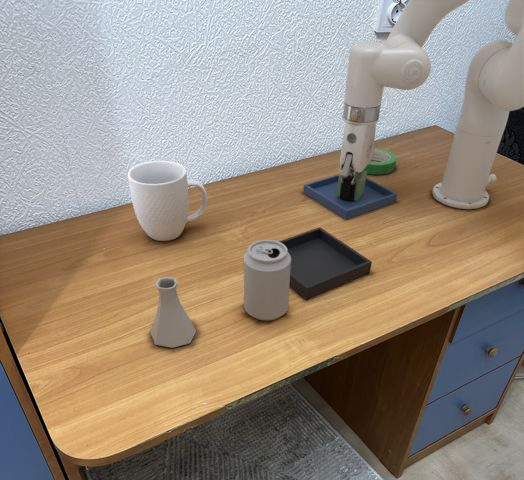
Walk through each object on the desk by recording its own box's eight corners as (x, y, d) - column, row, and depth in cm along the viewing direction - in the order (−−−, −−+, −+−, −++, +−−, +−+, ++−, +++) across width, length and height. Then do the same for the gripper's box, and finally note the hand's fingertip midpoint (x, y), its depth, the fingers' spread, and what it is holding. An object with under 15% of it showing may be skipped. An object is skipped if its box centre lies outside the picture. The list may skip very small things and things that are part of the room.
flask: (152, 320, 84) (143, 269, 77) (196, 318, 85) (191, 268, 78) (149, 350, 79) (139, 298, 72) (196, 348, 79) (190, 296, 73)
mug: (202, 214, 111) (197, 154, 102) (216, 239, 103) (213, 177, 95) (133, 224, 107) (123, 164, 98) (143, 251, 100) (132, 188, 91)
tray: (351, 177, 126) (352, 169, 124) (395, 202, 117) (397, 193, 115) (303, 192, 119) (303, 184, 118) (345, 219, 110) (347, 211, 109)
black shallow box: (318, 237, 104) (319, 226, 103) (369, 273, 95) (372, 261, 94) (257, 259, 98) (257, 248, 96) (305, 300, 89) (307, 288, 87)
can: (283, 326, 84) (287, 264, 75) (239, 320, 85) (238, 258, 76) (291, 299, 89) (295, 239, 81) (249, 293, 90) (249, 233, 82)
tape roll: (367, 154, 137) (369, 144, 135) (402, 166, 131) (404, 156, 130) (342, 165, 131) (343, 155, 129) (378, 179, 125) (380, 168, 124)
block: (343, 187, 120) (346, 167, 117) (363, 192, 118) (367, 171, 115) (336, 196, 117) (338, 175, 113) (357, 201, 115) (360, 179, 112)
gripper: (366, 128, 98) (354, 214, 111) (390, 102, 110) (376, 183, 122) (330, 121, 101) (322, 206, 113) (356, 97, 112) (346, 177, 124)
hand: (350, 193), depth 117 cm, fingers closed on block, 5 cm apart
